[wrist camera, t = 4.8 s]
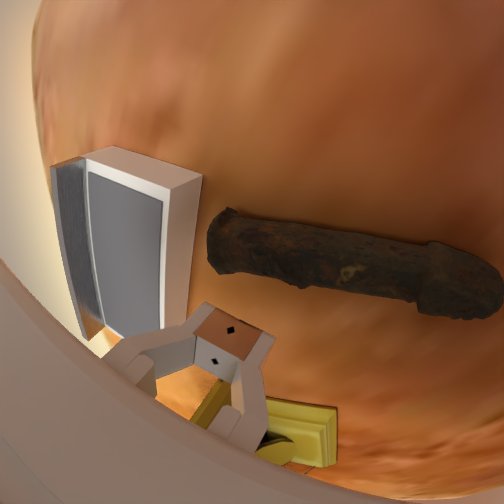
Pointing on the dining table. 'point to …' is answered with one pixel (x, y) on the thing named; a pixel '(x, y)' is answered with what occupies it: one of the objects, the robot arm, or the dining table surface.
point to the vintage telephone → (283, 428)
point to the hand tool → (357, 264)
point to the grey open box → (126, 239)
